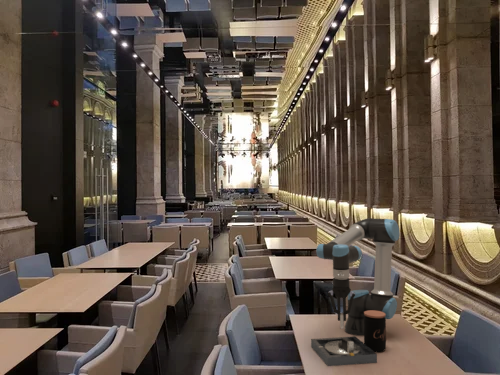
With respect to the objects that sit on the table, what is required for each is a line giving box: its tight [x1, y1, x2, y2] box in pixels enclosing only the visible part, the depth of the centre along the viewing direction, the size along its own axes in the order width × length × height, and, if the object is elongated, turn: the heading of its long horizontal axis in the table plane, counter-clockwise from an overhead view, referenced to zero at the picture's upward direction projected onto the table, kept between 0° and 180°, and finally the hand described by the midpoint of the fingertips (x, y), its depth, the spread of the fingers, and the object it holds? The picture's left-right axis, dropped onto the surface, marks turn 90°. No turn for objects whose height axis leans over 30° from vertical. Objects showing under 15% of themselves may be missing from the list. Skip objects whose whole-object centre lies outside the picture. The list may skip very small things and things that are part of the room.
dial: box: [325, 338, 360, 355], centre depth 200 cm, size 17×17×6 cm
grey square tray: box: [310, 335, 378, 367], centre depth 200 cm, size 24×24×5 cm
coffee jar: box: [363, 310, 387, 353], centre depth 207 cm, size 11×11×18 cm
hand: (342, 327), depth 193 cm, fingers closed
